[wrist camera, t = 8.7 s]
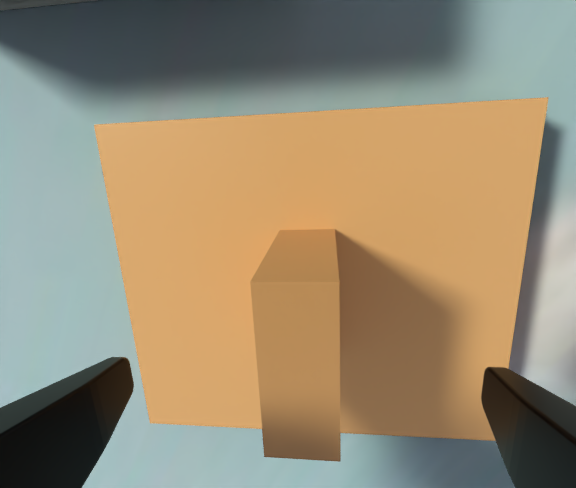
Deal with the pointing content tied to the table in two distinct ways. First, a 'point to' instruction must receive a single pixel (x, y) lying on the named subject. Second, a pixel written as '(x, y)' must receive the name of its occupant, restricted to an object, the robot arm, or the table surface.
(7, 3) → the tub
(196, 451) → the table surface
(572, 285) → the table surface
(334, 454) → the lid
